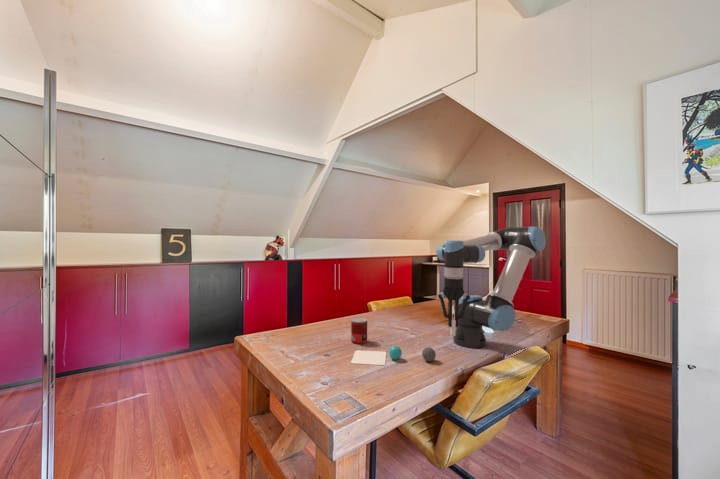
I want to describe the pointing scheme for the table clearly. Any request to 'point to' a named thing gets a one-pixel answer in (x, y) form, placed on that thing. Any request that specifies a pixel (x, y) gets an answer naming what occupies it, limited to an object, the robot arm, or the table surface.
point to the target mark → (369, 357)
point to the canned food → (359, 330)
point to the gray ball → (428, 354)
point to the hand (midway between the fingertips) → (453, 334)
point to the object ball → (395, 352)
